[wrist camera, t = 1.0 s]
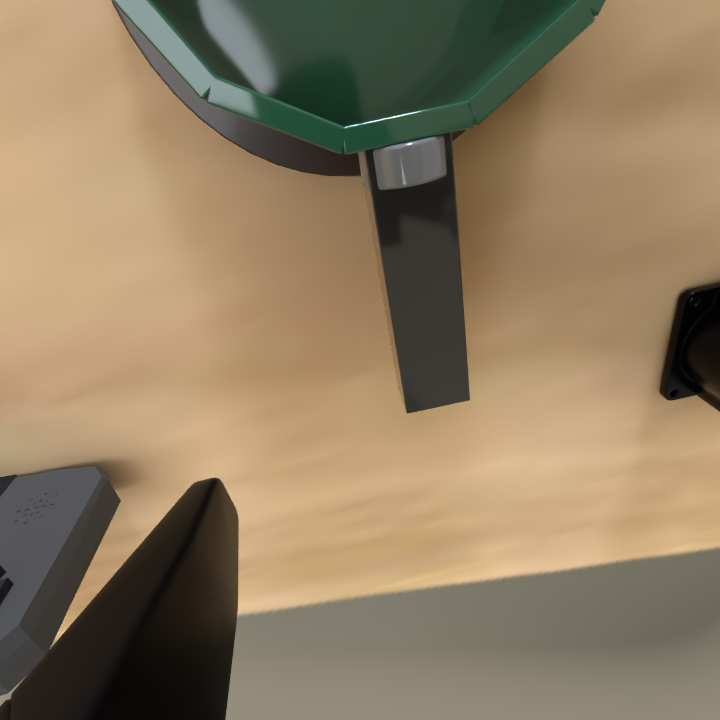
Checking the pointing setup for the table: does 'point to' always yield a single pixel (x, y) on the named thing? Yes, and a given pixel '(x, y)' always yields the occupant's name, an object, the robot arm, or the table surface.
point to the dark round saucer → (250, 124)
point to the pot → (377, 122)
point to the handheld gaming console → (45, 557)
